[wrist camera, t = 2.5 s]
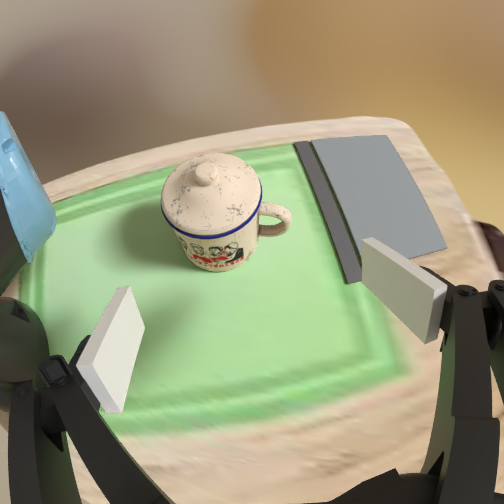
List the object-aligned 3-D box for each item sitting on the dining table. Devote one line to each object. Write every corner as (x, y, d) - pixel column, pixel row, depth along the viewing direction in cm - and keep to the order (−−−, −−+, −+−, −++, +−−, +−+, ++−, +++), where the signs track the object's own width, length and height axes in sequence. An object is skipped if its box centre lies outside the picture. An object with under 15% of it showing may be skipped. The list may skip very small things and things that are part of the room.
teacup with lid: (172, 268, 32) (135, 211, 21) (191, 200, 35) (170, 130, 25) (281, 284, 31) (295, 231, 20) (290, 211, 35) (302, 140, 24)
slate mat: (364, 270, 31) (365, 269, 31) (310, 142, 40) (311, 140, 39) (446, 248, 32) (447, 247, 32) (385, 136, 41) (386, 135, 40)
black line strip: (347, 284, 31) (348, 283, 30) (294, 143, 39) (294, 142, 39) (363, 280, 31) (364, 279, 31) (307, 142, 39) (307, 140, 39)
